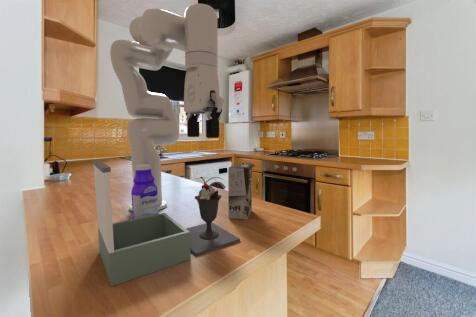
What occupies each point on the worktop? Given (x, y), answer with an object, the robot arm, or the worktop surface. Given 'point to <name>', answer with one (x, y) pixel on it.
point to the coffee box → (240, 191)
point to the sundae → (208, 209)
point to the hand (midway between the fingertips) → (202, 137)
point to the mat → (203, 245)
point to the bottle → (144, 193)
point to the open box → (135, 237)
